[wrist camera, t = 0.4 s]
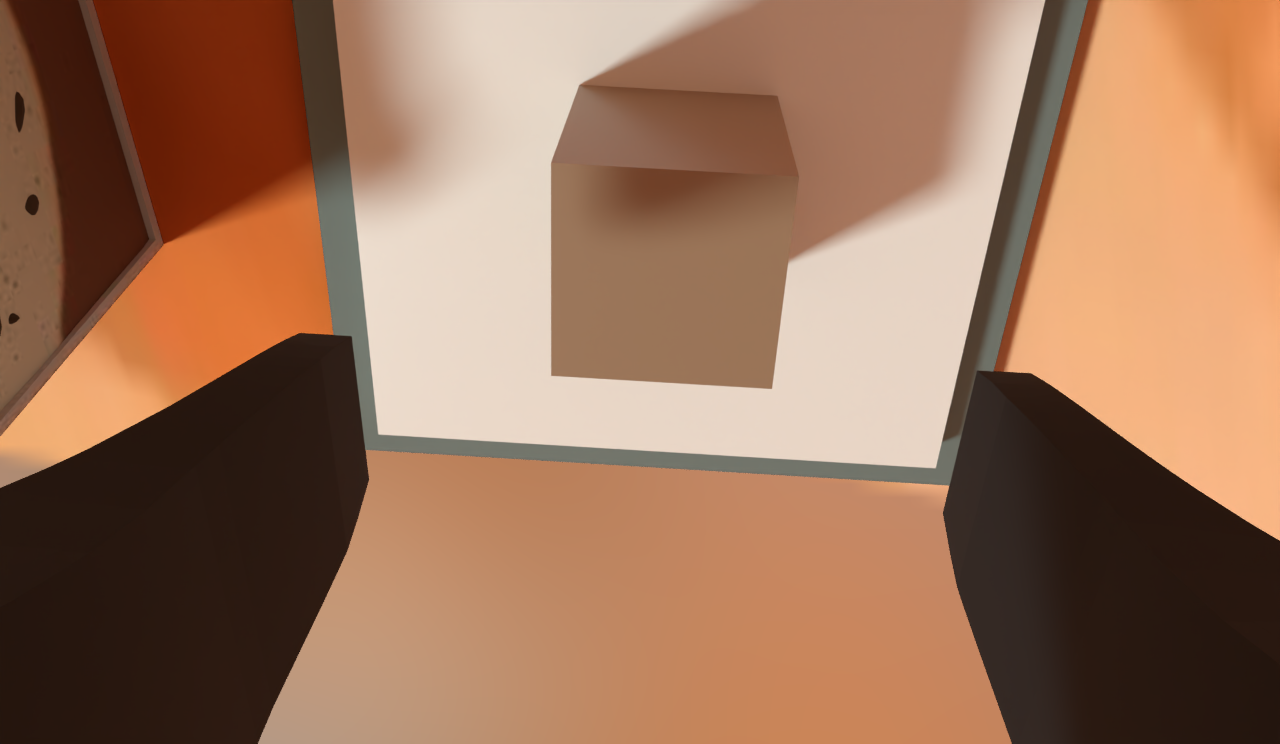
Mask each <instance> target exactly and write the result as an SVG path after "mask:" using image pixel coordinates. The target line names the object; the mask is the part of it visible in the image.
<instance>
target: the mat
mask: <svg viewBox="0 0 1280 744" xmlns="http://www.w3.org/2000/svg"><path fill="white" fill-rule="evenodd" d="M1087 2H1088V0H1045V3H1044V8H1043V12H1042V16H1041V20H1040V25H1039V29H1038V33H1037V38H1036V42H1035V46H1034V50H1033V55H1032V59H1031V63H1030V67H1029V72H1028V76H1027V80H1026V85H1025V89H1024V93H1023V97H1022V102H1021V106H1020V110H1019V114H1018V119H1017V123H1016V127H1015V132H1014V136H1013V140H1012V144H1011V149H1010V153H1009V157H1008V161H1007V166H1006V170H1005V174H1004V179H1003V183H1002V187H1001V191H1000V196H999V200H998V204H997V208H996V213H995V217H994V221H993V226H992V230H991V234H990V238H989V243H988V247H987V251H986V255H985V260H984V264H983V268H982V273H981V277H980V281H979V285H978V290H977V294H976V298H975V302H974V307H973V311H972V315H971V320H970V324H969V328H968V332H967V337H966V341H965V345H964V349H963V354H962V358H961V362H960V366H959V371H958V375H957V379H956V384H955V388H954V392H953V396H952V401H951V405H950V409H949V413H948V418H947V422H946V426H945V431H944V435H943V439H942V443H941V448H940V452H939V456H938V460H937V465H936V468H922V467H905V466H889V465H872V464H856V463H839V462H823V461H807V460H790V459H774V458H757V457H741V456H724V455H708V454H691V453H675V452H659V451H642V450H626V449H609V448H593V447H576V446H560V445H543V444H527V443H511V442H494V441H478V440H461V439H445V438H428V437H412V436H395V435H379V434H378V427H377V417H376V408H375V398H374V389H373V379H372V370H371V360H370V351H369V341H368V331H367V322H366V312H365V303H364V293H363V284H362V274H361V265H360V255H359V245H358V236H357V226H356V217H355V207H354V198H353V188H352V179H351V169H350V160H349V150H348V140H347V131H346V121H345V112H344V102H343V93H342V83H341V74H340V64H339V54H338V45H337V35H336V26H335V16H334V7H333V0H292V3H293V11H294V19H295V27H296V35H297V43H298V51H299V59H300V67H301V76H302V84H303V92H304V100H305V108H306V116H307V124H308V132H309V140H310V148H311V156H312V164H313V172H314V180H315V188H316V196H317V205H318V213H319V221H320V229H321V237H322V245H323V253H324V261H325V269H326V277H327V285H328V293H329V301H330V309H331V317H332V325H333V333H334V335H342V336H352V343H353V351H354V359H355V368H356V376H357V384H358V393H359V401H360V409H361V418H362V426H363V434H364V443H365V450H379V451H395V452H411V453H427V454H443V455H444V454H445V455H462V456H476V457H492V458H509V459H526V460H542V461H559V462H576V463H591V464H607V465H623V466H641V467H656V468H673V469H689V470H705V471H722V472H738V473H754V474H771V475H787V476H804V477H820V478H836V479H853V480H869V481H885V482H902V483H918V484H935V485H950V482H951V477H952V473H953V469H954V465H955V461H956V456H957V452H958V448H959V444H960V440H961V435H962V431H963V427H964V423H965V418H966V414H967V410H968V406H969V402H970V397H971V393H972V389H973V385H974V381H975V376H976V372H977V370H978V371H994V368H995V364H996V360H997V356H998V352H999V348H1000V344H1001V340H1002V336H1003V332H1004V328H1005V325H1006V321H1007V317H1008V313H1009V309H1010V305H1011V301H1012V297H1013V293H1014V289H1015V285H1016V281H1017V277H1018V273H1019V270H1020V266H1021V262H1022V258H1023V254H1024V250H1025V246H1026V242H1027V238H1028V234H1029V230H1030V226H1031V222H1032V218H1033V214H1034V211H1035V207H1036V203H1037V199H1038V195H1039V191H1040V187H1041V183H1042V179H1043V175H1044V171H1045V167H1046V163H1047V159H1048V156H1049V152H1050V148H1051V144H1052V140H1053V136H1054V132H1055V128H1056V124H1057V120H1058V116H1059V112H1060V108H1061V104H1062V101H1063V97H1064V93H1065V89H1066V85H1067V81H1068V77H1069V73H1070V69H1071V65H1072V61H1073V57H1074V53H1075V49H1076V45H1077V42H1078V38H1079V34H1080V30H1081V26H1082V22H1083V18H1084V14H1085V10H1086V6H1087Z"/></svg>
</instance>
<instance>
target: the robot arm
mask: <svg viewBox="0 0 1280 744" xmlns="http://www.w3.org/2000/svg"><path fill="white" fill-rule="evenodd" d="M368 481H369V476H368V468H367V459H366V451H365V443H364V434H363V426H362V418H361V409H360V401H359V393H358V384H357V376H356V368H355V359H354V351H353V343H352V336H342V335H324V334H306V333H299V334H297V335H295V336H292V337H290V338H288V339H286V340H284V341H282V342H280V343H278V344H276V345H274V346H273V347H271V348H269V349H267V350H265V351H264V352H262V353H260V354H258V355H257V356H255V357H253V358H251V359H250V360H248V361H246V362H245V363H243V364H241V365H239V366H238V367H236V368H234V369H233V370H231V371H229V372H228V373H226V374H224V375H222V376H221V377H219V378H217V379H216V380H214V381H212V382H210V383H209V384H207V385H205V386H203V387H202V388H200V389H198V390H197V391H195V392H193V393H191V394H190V395H188V396H186V397H185V398H183V399H181V400H179V401H178V402H176V403H174V404H172V405H171V406H169V407H167V408H165V409H163V410H161V411H160V412H158V413H156V414H154V415H152V416H150V417H148V418H146V419H144V420H142V421H141V422H139V423H137V424H135V425H133V426H131V427H129V428H127V429H125V430H124V431H122V432H120V433H118V434H116V435H114V436H112V437H110V438H108V439H106V440H105V441H103V442H101V443H99V444H97V445H95V446H93V447H91V448H89V449H87V450H85V451H83V452H81V453H79V454H77V455H75V456H73V457H70V458H68V459H66V460H64V461H62V462H60V463H57V464H55V465H53V466H51V467H49V468H46V469H44V470H42V471H39V472H37V473H35V474H32V475H30V476H28V477H25V478H23V479H20V480H18V481H16V482H13V483H11V484H9V485H6V486H4V487H2V488H0V744H258V741H259V739H260V737H261V734H262V732H263V729H264V727H265V725H266V723H267V720H268V718H269V716H270V713H271V711H272V708H273V706H274V704H275V702H276V700H277V698H278V696H279V694H280V691H281V689H282V687H283V685H284V683H285V681H286V679H287V677H288V675H289V673H290V671H291V669H292V667H293V664H294V662H295V660H296V658H297V656H298V654H299V652H300V650H301V648H302V646H303V644H304V642H305V639H306V637H307V635H308V633H309V631H310V629H311V627H312V625H313V623H314V621H315V619H316V617H317V614H318V612H319V610H320V608H321V606H322V604H323V602H324V600H325V597H326V596H327V593H328V591H329V589H330V587H331V585H332V583H333V580H334V579H335V576H336V574H337V572H338V570H339V568H340V566H341V563H342V561H343V559H344V557H345V555H346V552H347V550H348V547H349V544H350V541H351V537H352V535H353V532H354V528H355V525H356V522H357V519H358V516H359V512H360V509H361V505H362V502H363V498H364V495H365V492H366V488H367V485H368ZM943 516H944V521H945V527H946V532H947V538H948V544H949V548H950V555H951V560H952V564H953V569H954V574H955V579H956V584H957V588H958V591H959V594H960V597H961V600H962V603H963V606H964V609H965V612H966V615H967V617H968V620H969V623H970V626H971V629H972V632H973V635H974V638H975V641H976V644H977V646H978V649H979V652H980V655H981V657H982V660H983V663H984V666H985V669H986V672H987V675H988V677H989V680H990V683H991V686H992V689H993V691H994V694H995V697H996V700H997V702H998V705H999V708H1000V711H1001V714H1002V717H1003V720H1004V722H1005V725H1006V728H1007V731H1008V733H1009V736H1010V739H1011V742H1012V744H1280V541H1279V540H1277V539H1276V538H1274V537H1272V536H1271V535H1269V534H1267V533H1266V532H1264V531H1262V530H1260V529H1259V528H1257V527H1255V526H1254V525H1252V524H1250V523H1249V522H1247V521H1245V520H1244V519H1242V518H1241V517H1239V516H1238V515H1236V514H1235V513H1233V512H1231V511H1230V510H1228V509H1227V508H1225V507H1224V506H1222V505H1220V504H1219V503H1217V502H1216V501H1214V500H1213V499H1211V498H1210V497H1208V496H1206V495H1205V494H1203V493H1202V492H1200V491H1199V490H1197V489H1196V488H1194V487H1193V486H1191V485H1190V484H1188V483H1187V482H1185V481H1184V480H1182V479H1181V478H1179V477H1178V476H1176V475H1175V474H1173V473H1172V472H1171V471H1169V470H1168V469H1166V468H1165V467H1163V466H1162V465H1161V464H1159V463H1158V462H1156V461H1155V460H1153V459H1152V458H1151V457H1149V456H1148V455H1146V454H1145V453H1144V452H1142V451H1141V450H1139V449H1138V448H1137V447H1135V446H1134V445H1132V444H1131V443H1130V442H1128V441H1127V440H1126V439H1124V438H1123V437H1121V436H1120V435H1119V434H1117V433H1116V432H1115V431H1113V430H1112V429H1111V428H1109V427H1108V426H1106V425H1105V424H1104V423H1102V422H1101V421H1100V420H1098V419H1097V418H1096V417H1094V416H1093V415H1091V414H1090V413H1089V412H1087V411H1086V410H1085V409H1083V408H1082V407H1081V406H1079V405H1078V404H1076V403H1075V402H1074V401H1072V400H1071V399H1069V398H1068V397H1067V396H1065V395H1064V394H1062V393H1061V392H1060V391H1058V390H1057V389H1055V388H1054V387H1052V386H1051V385H1049V384H1048V383H1046V382H1045V381H1043V380H1041V379H1040V378H1038V377H1036V376H1034V375H1033V374H1031V373H1014V372H996V371H978V370H977V372H976V376H975V381H974V385H973V389H972V393H971V397H970V402H969V406H968V410H967V414H966V418H965V423H964V427H963V431H962V435H961V440H960V444H959V448H958V452H957V456H956V461H955V465H954V469H953V473H952V477H951V482H950V486H949V490H948V494H947V498H946V503H945V507H944V511H943Z"/></svg>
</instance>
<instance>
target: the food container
mask: <svg viewBox="0 0 1280 744" xmlns="http://www.w3.org/2000/svg"><path fill="white" fill-rule="evenodd" d="M163 245H164V244H163V241H162V238H161V234H160V231H159V227H158V224H157V220H156V217H155V213H154V210H153V206H152V203H151V200H150V196H149V193H148V189H147V186H146V182H145V179H144V175H143V172H142V169H141V165H140V162H139V158H138V155H137V151H136V148H135V144H134V141H133V138H132V134H131V131H130V127H129V124H128V120H127V117H126V113H125V110H124V106H123V103H122V100H121V96H120V93H119V89H118V86H117V82H116V79H115V75H114V72H113V69H112V65H111V62H110V58H109V55H108V51H107V48H106V44H105V41H104V38H103V34H102V31H101V27H100V24H99V20H98V17H97V13H96V10H95V7H94V3H93V0H0V436H1V435H2V434H3V432H4V431H5V430H6V429H7V428H8V427H9V425H10V424H11V423H12V422H13V421H14V420H15V418H16V417H17V416H18V415H19V414H20V413H21V411H22V410H23V409H24V408H25V407H26V406H27V404H28V403H29V402H30V401H31V400H32V398H33V397H34V396H35V395H36V394H37V393H38V391H39V390H40V389H41V388H42V387H43V386H44V384H45V383H46V382H47V381H48V380H49V379H50V377H51V376H52V375H53V374H54V373H55V371H56V370H57V369H58V368H59V367H60V366H61V364H62V363H63V362H64V361H65V360H66V359H67V357H68V356H69V355H70V354H71V353H72V352H73V350H74V349H75V348H76V347H77V346H78V344H79V343H80V342H81V341H82V340H83V339H84V337H85V336H86V335H87V334H88V333H89V332H90V330H91V329H92V328H93V327H94V326H95V325H96V323H97V322H98V321H99V320H100V319H101V318H102V316H103V315H104V314H105V313H106V312H107V310H108V309H109V308H110V307H111V306H112V305H113V303H114V302H115V301H116V300H117V299H118V298H119V296H120V295H121V294H122V293H123V292H124V291H125V289H126V288H127V287H128V286H129V285H130V283H131V282H132V281H133V280H134V279H135V278H136V276H137V275H138V274H139V273H140V272H141V271H142V269H143V268H144V267H145V266H146V265H147V264H148V262H149V261H150V260H151V259H152V258H153V256H154V255H155V254H156V253H157V252H158V251H159V249H160V248H161V247H162V246H163Z"/></svg>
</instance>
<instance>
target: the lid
mask: <svg viewBox="0 0 1280 744" xmlns="http://www.w3.org/2000/svg"><path fill="white" fill-rule="evenodd" d="M1044 3H1045V0H333V7H334V16H335V26H336V35H337V45H338V54H339V64H340V74H341V83H342V93H343V102H344V112H345V121H346V131H347V140H348V150H349V160H350V169H351V179H352V188H353V198H354V207H355V217H356V226H357V236H358V245H359V255H360V265H361V274H362V284H363V293H364V303H365V312H366V322H367V331H368V341H369V351H370V360H371V370H372V379H373V389H374V398H375V408H376V417H377V427H378V434H379V435H395V436H412V437H428V438H445V439H461V440H478V441H494V442H511V443H527V444H543V445H560V446H576V447H593V448H609V449H626V450H642V451H659V452H675V453H691V454H708V455H724V456H741V457H757V458H774V459H790V460H807V461H823V462H839V463H856V464H872V465H889V466H905V467H922V468H936V465H937V460H938V456H939V452H940V448H941V443H942V439H943V435H944V431H945V426H946V422H947V418H948V413H949V409H950V405H951V401H952V396H953V392H954V388H955V384H956V379H957V375H958V371H959V366H960V362H961V358H962V354H963V349H964V345H965V341H966V337H967V332H968V328H969V324H970V320H971V315H972V311H973V307H974V302H975V298H976V294H977V290H978V285H979V281H980V277H981V273H982V268H983V264H984V260H985V255H986V251H987V247H988V243H989V238H990V234H991V230H992V226H993V221H994V217H995V213H996V208H997V204H998V200H999V196H1000V191H1001V187H1002V183H1003V179H1004V174H1005V170H1006V166H1007V161H1008V157H1009V153H1010V149H1011V144H1012V140H1013V136H1014V132H1015V127H1016V123H1017V119H1018V114H1019V110H1020V106H1021V102H1022V97H1023V93H1024V89H1025V85H1026V80H1027V76H1028V72H1029V67H1030V63H1031V59H1032V55H1033V50H1034V46H1035V42H1036V38H1037V33H1038V29H1039V25H1040V20H1041V16H1042V12H1043V8H1044Z"/></svg>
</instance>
